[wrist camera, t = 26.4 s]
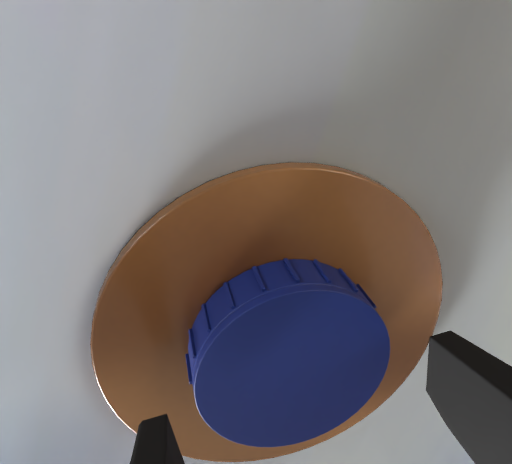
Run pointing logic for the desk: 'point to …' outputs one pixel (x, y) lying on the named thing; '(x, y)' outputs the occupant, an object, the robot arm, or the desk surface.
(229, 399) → the lid
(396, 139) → the desk surface
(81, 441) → the desk surface
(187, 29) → the desk surface
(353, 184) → the coaster
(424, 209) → the desk surface
